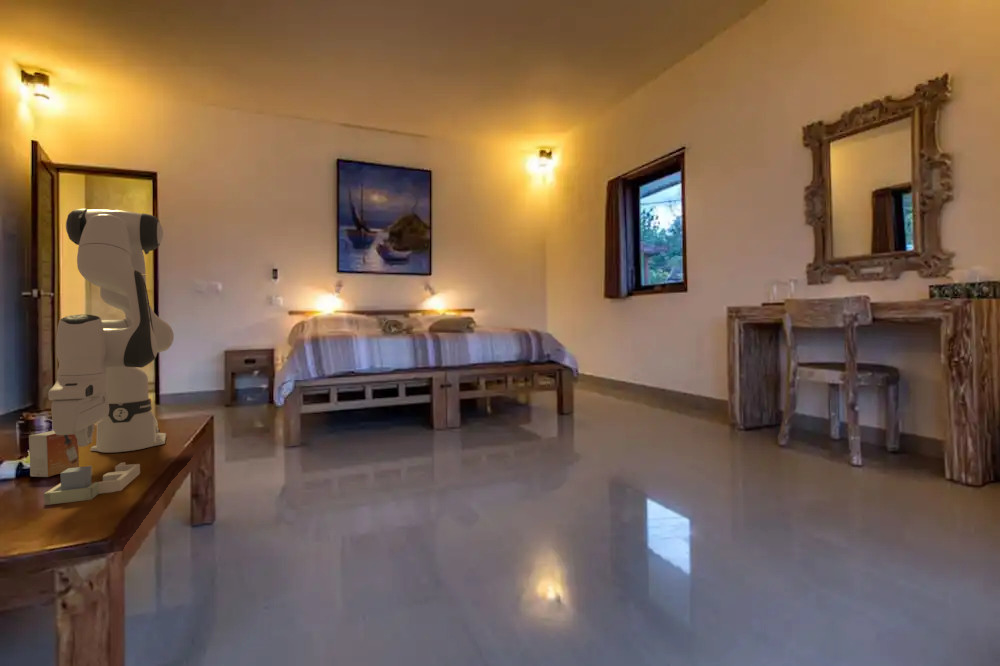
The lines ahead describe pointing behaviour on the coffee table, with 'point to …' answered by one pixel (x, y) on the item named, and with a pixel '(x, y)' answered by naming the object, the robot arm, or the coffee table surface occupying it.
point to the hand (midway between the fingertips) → (85, 444)
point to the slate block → (76, 478)
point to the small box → (52, 453)
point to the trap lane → (95, 486)
